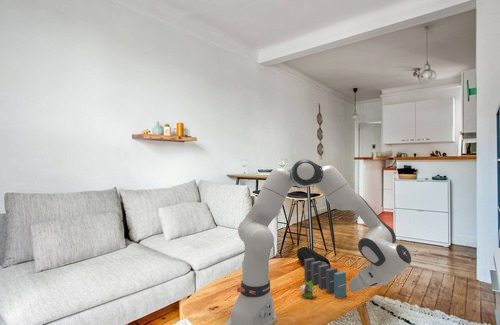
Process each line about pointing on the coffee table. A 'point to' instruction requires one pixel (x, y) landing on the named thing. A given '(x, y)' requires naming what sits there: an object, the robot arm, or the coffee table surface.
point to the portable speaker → (311, 256)
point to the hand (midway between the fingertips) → (360, 288)
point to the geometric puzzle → (307, 289)
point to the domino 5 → (340, 284)
